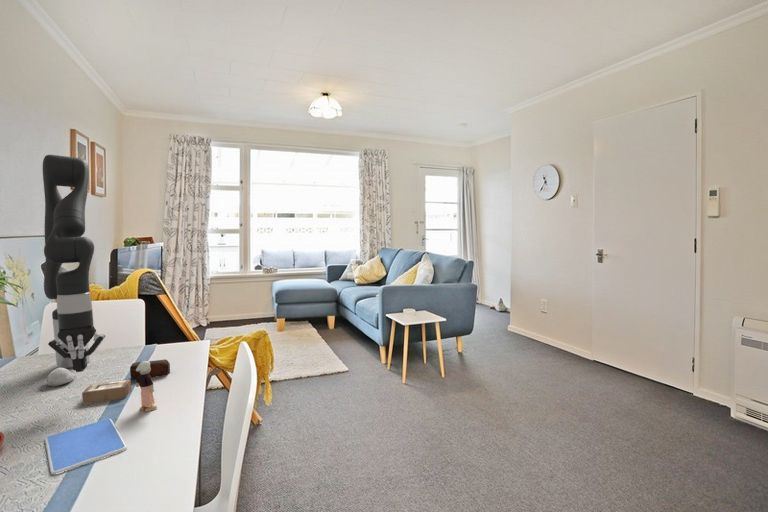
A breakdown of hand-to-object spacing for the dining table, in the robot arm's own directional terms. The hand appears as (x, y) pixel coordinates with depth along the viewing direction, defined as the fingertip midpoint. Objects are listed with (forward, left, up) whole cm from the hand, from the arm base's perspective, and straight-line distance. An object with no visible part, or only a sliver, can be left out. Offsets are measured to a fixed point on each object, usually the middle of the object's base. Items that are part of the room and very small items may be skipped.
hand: (80, 370), depth 109 cm
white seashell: (-18, -11, -9) cm, 23 cm away
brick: (-13, +14, -9) cm, 21 cm away
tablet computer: (+28, +9, -9) cm, 31 cm away
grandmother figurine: (+13, +18, -9) cm, 24 cm away
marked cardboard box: (0, +1, -7) cm, 7 cm away
